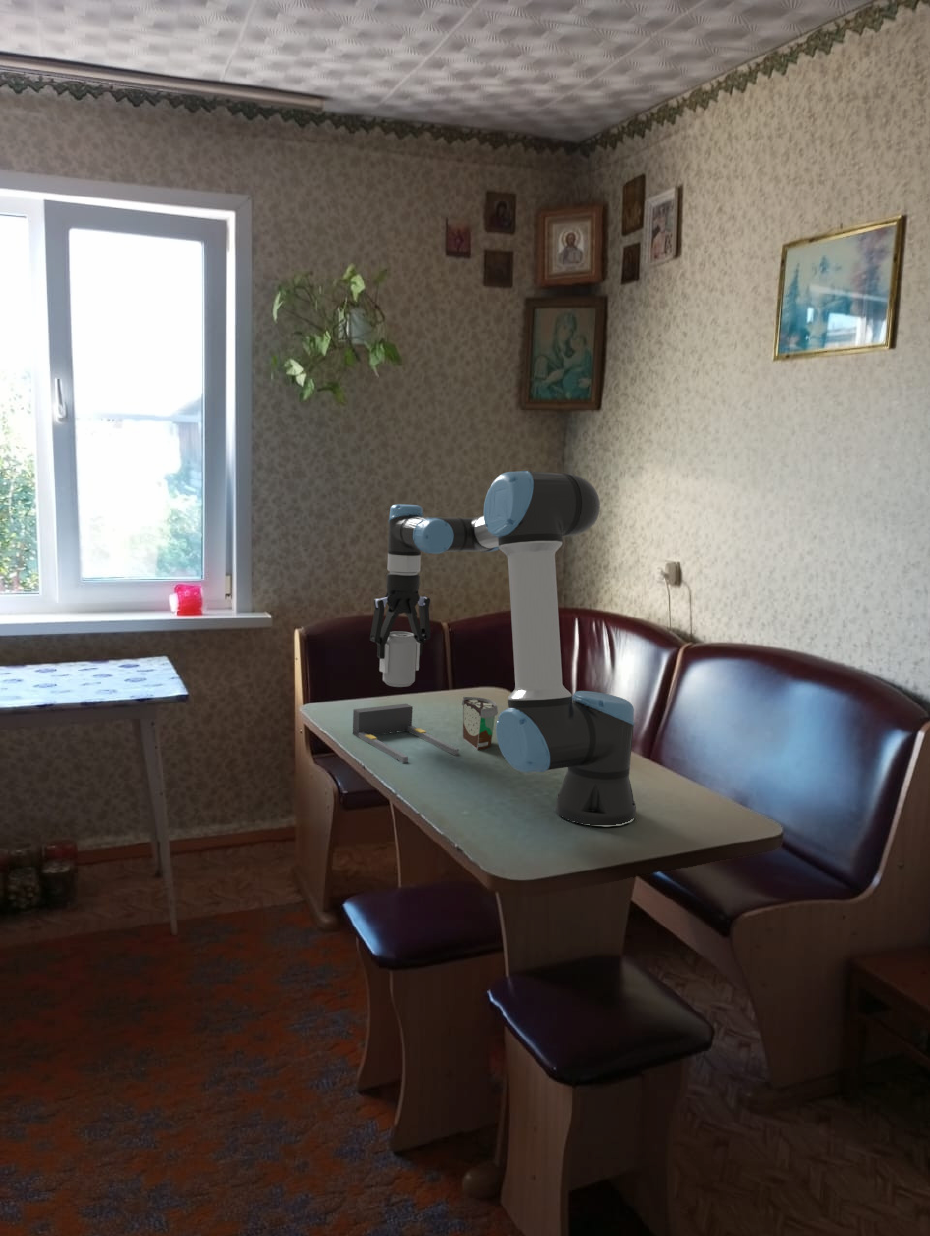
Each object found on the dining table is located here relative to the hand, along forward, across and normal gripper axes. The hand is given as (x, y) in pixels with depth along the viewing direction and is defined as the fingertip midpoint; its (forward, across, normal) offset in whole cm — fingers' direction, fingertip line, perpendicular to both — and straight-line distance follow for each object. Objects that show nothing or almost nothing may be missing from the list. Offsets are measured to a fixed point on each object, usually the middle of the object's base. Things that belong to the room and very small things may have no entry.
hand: (399, 670), depth 222 cm
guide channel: (+17, 0, +4) cm, 17 cm away
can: (+3, 0, 0) cm, 3 cm away
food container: (+17, -17, +11) cm, 26 cm away
